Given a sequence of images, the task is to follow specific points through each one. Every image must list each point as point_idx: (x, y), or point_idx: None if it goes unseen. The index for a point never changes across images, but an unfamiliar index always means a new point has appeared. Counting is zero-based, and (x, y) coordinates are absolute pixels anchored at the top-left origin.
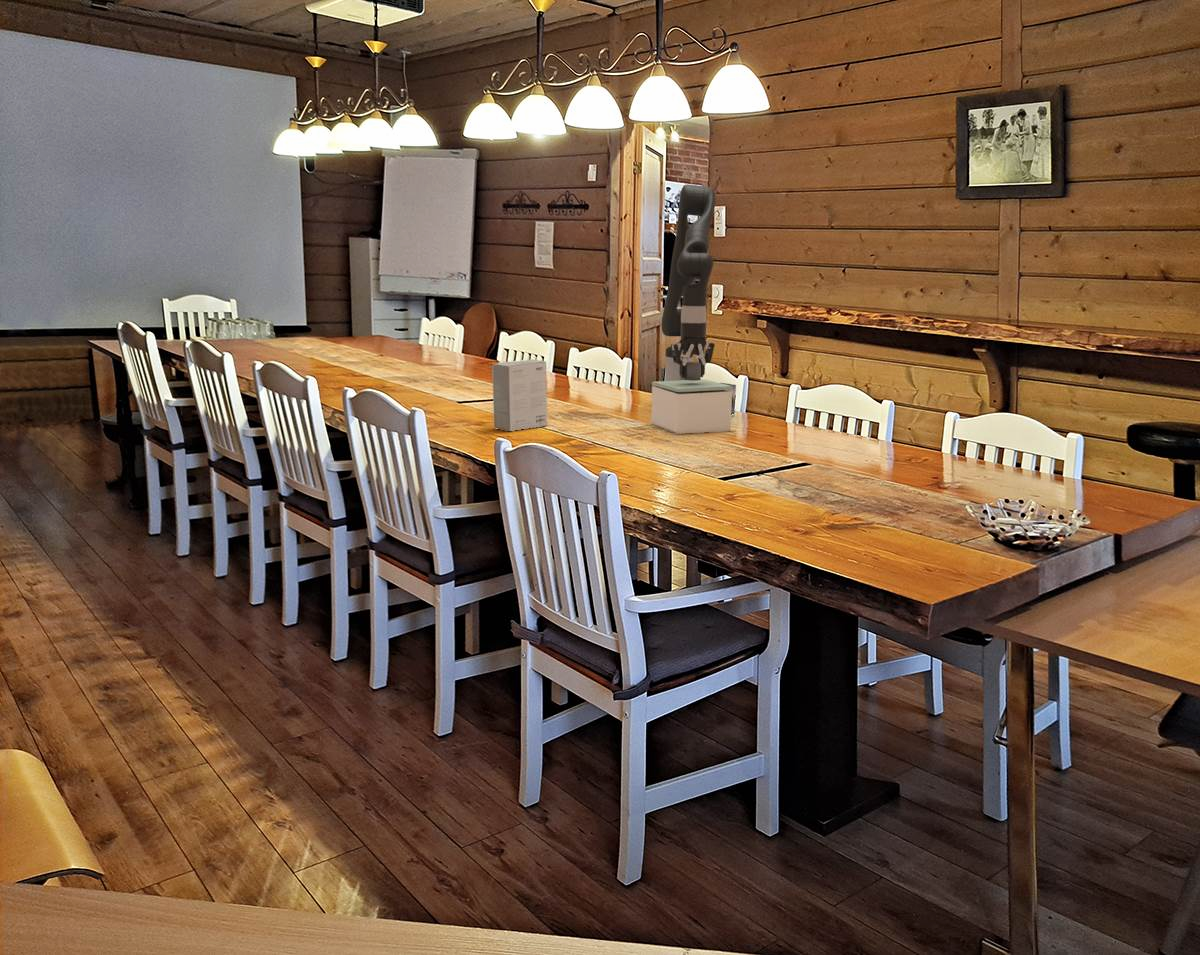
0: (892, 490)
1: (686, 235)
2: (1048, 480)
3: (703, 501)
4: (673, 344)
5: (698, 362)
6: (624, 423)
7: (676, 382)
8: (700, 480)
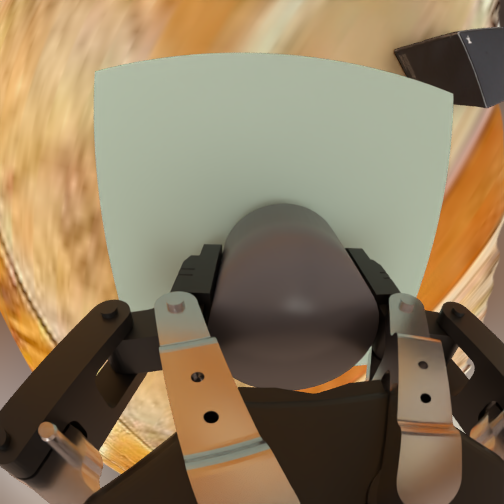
0: None
1: None
2: None
3: (127, 462)
4: (18, 475)
5: (370, 325)
6: (104, 60)
7: (221, 141)
8: (135, 446)
